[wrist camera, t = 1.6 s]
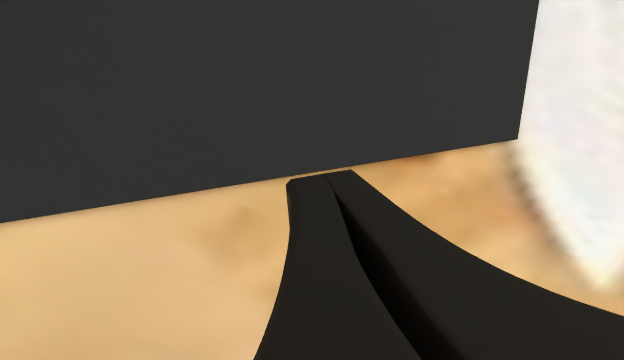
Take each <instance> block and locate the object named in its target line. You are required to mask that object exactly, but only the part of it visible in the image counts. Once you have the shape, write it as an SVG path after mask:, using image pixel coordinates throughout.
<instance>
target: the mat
mask: <svg viewBox="0 0 624 360" xmlns="http://www.w3.org/2000/svg"><path fill="white" fill-rule="evenodd" d="M538 5H539V0H0V223H4V222H10V221H16V220H23V219H29V218H35V217H41V216H47V215H53V214H60V213H66V212H72V211H78V210H84V209H90V208H97V207H103V206H109V205H115V204H121V203H127V202H133V201H140V200H146V199H152V198H158V197H164V196H170V195H177V194H183V193H189V192H195V191H201V190H207V189H214V188H220V187H226V186H232V185H238V184H244V183H251V182H257V181H263V180H269V179H275V178H281V177H288V176H294V175H300V174H306V173H312V172H318V171H325V170H331V169H337V168H343V167H349V166H355V165H362V164H368V163H374V162H380V161H386V160H392V159H399V158H405V157H411V156H417V155H423V154H429V153H435V152H442V151H448V150H454V149H460V148H466V147H472V146H479V145H485V144H491V143H497V142H503V141H509V140H516V139H518V133H519V126H520V120H521V114H522V107H523V101H524V94H525V88H526V82H527V75H528V69H529V62H530V56H531V50H532V43H533V37H534V30H535V24H536V17H537V11H538Z"/></svg>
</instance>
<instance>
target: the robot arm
mask: <svg viewBox="0 0 624 360" xmlns="http://www.w3.org/2000/svg"><path fill="white" fill-rule="evenodd" d="M286 192H287V203H288V213H289V224H290V233H289V243H288V250H287V255H286V260H285V265H284V270H283V275H282V279H281V283H280V287H279V291H278V295H277V298H276V301H275V304H274V308H273V311H272V314H271V317H270V319H269V322H268V325H267V328H266V330H265V333H264V336H263V338H262V341H261V343H260V346H259V348H258V350H257V353H256V355H255V357H254V359H253V360H624V316H621V315H618V314H615V313H612V312H609V311H606V310H603V309H600V308H597V307H594V306H591V305H587V304H584V303H581V302H578V301H576V300H573V299H570V298H567V297H565V296H562V295H559V294H557V293H554V292H551V291H549V290H547V289H544V288H542V287H539V286H537V285H535V284H532V283H530V282H528V281H525V280H523V279H521V278H518V277H516V276H514V275H512V274H509V273H507V272H505V271H503V270H501V269H499V268H497V267H495V266H493V265H491V264H489V263H487V262H485V261H483V260H482V259H480V258H478V257H476V256H474V255H472V254H470V253H468V252H466V251H465V250H463V249H461V248H459V247H458V246H456V245H454V244H453V243H451V242H449V241H448V240H446V239H445V238H443V237H442V236H440V235H438V234H437V233H435V232H434V231H432V230H430V229H429V228H428V227H426V226H425V225H423V224H422V223H420V222H419V221H417V220H416V219H414V218H413V217H412V216H410V215H409V214H408V213H406V212H405V211H403V210H402V209H401V208H399V207H398V206H397V205H395V204H394V203H393V202H392V201H390V200H389V199H388V198H386V197H385V196H384V195H383V194H381V193H380V192H379V191H378V190H376V189H375V188H374V187H373V186H371V185H370V184H369V183H368V182H366V181H365V180H364V179H363V178H361V177H360V176H359V175H358V174H356V173H355V172H354V171H352V170H351V169H350V170H344V171H338V172H332V173H326V174H319V175H313V176H307V177H301V178H295V179H291V180H290V181H289V182H288V183H287V184H286Z"/></svg>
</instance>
